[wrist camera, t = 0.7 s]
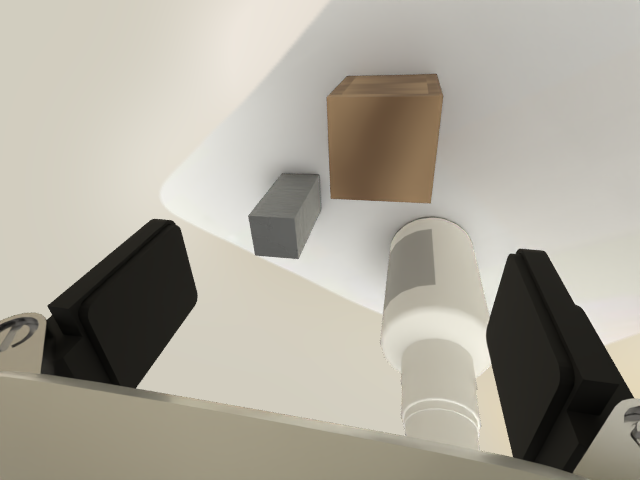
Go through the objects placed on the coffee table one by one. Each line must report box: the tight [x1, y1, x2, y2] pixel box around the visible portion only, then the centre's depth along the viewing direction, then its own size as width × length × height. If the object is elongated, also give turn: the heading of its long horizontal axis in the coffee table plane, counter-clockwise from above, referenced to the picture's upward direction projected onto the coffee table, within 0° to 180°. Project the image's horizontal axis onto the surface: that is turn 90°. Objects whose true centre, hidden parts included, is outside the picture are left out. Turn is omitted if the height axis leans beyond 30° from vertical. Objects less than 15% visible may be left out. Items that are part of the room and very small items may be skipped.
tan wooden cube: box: [327, 74, 443, 203], centre depth 24 cm, size 6×6×7 cm
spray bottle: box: [380, 217, 491, 451], centre depth 24 cm, size 7×7×18 cm
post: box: [248, 174, 321, 259], centre depth 28 cm, size 3×3×8 cm
